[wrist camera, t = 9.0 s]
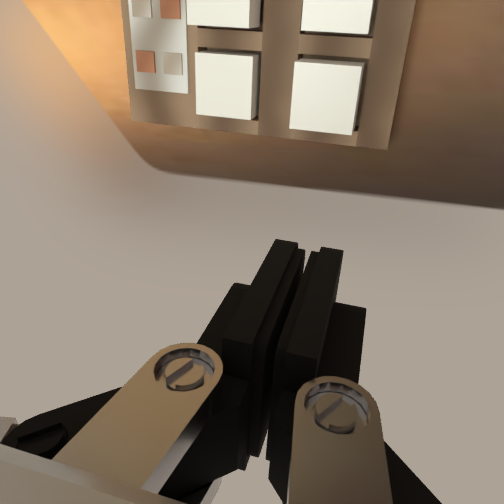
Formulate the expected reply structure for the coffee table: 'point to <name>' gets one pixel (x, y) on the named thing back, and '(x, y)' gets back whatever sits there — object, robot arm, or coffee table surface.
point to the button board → (262, 66)
